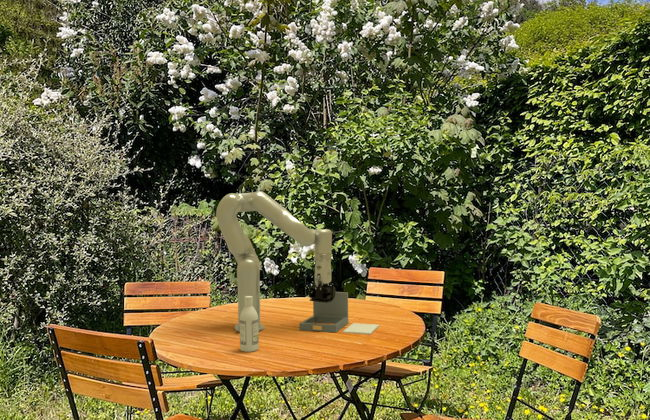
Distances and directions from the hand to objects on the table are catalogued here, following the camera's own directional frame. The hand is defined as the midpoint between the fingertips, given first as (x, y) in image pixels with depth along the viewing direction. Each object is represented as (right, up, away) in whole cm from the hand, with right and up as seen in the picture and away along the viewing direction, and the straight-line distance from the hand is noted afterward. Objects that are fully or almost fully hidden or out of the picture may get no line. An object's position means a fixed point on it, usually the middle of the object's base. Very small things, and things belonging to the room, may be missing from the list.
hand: (322, 297), depth 240 cm
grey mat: (+17, -13, -5) cm, 22 cm away
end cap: (0, -2, 0) cm, 2 cm away
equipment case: (+1, -13, 0) cm, 13 cm away
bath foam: (-27, -14, -36) cm, 47 cm away
